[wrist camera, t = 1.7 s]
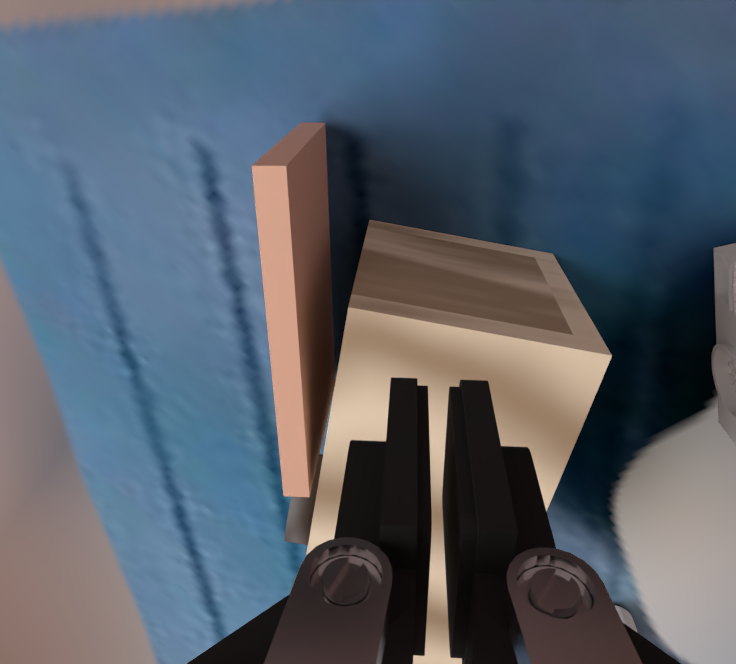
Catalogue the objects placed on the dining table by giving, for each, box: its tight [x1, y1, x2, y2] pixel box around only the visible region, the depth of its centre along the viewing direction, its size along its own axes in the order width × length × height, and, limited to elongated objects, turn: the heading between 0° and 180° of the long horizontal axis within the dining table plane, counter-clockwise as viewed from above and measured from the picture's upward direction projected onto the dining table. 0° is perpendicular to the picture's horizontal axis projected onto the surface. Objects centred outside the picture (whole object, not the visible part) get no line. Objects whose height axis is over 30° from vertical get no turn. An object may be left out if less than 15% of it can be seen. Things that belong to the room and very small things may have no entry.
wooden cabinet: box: [285, 220, 612, 664], centre depth 32 cm, size 20×11×11 cm, turn 170°
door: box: [252, 123, 335, 497], centre depth 28 cm, size 15×2×10 cm, turn 0°
